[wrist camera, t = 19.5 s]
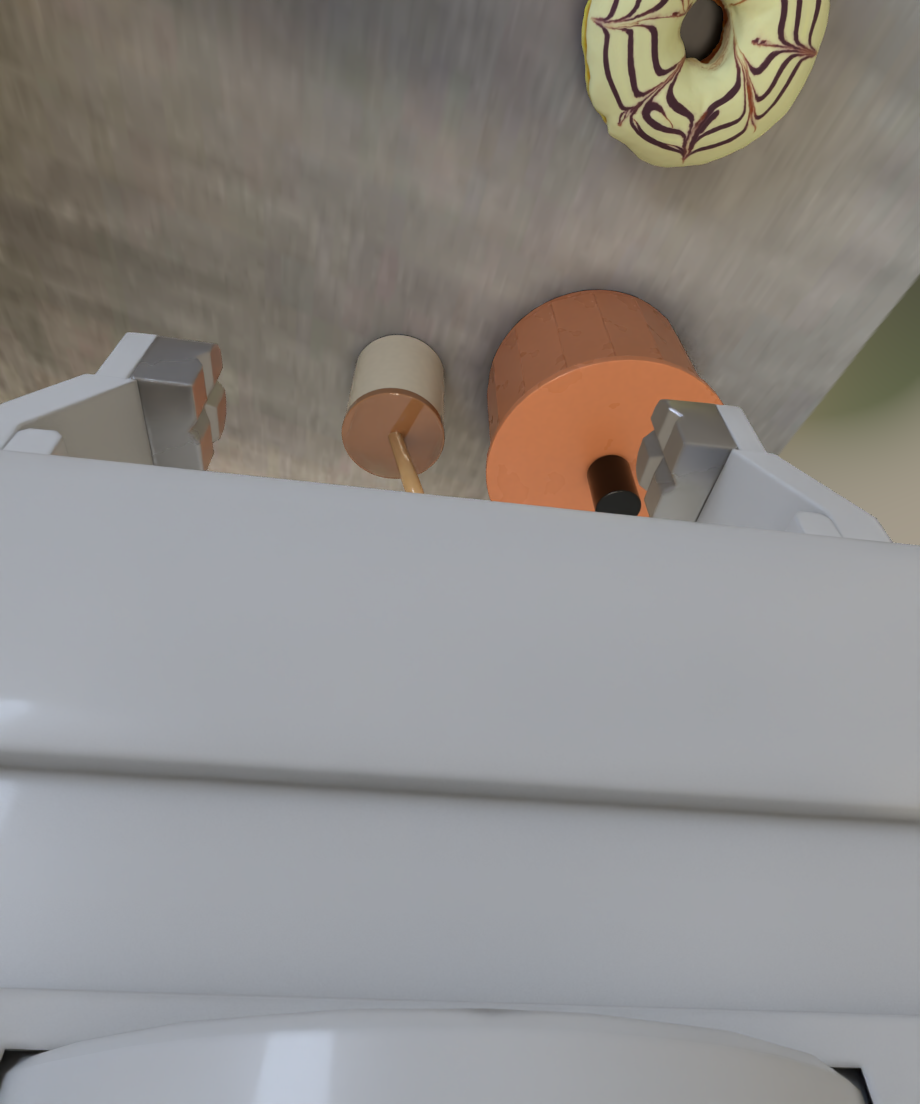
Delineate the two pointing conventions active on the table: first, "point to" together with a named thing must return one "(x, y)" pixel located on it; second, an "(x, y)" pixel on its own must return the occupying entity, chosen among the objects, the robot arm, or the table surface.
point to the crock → (396, 410)
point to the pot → (576, 342)
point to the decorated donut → (697, 74)
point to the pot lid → (585, 434)
